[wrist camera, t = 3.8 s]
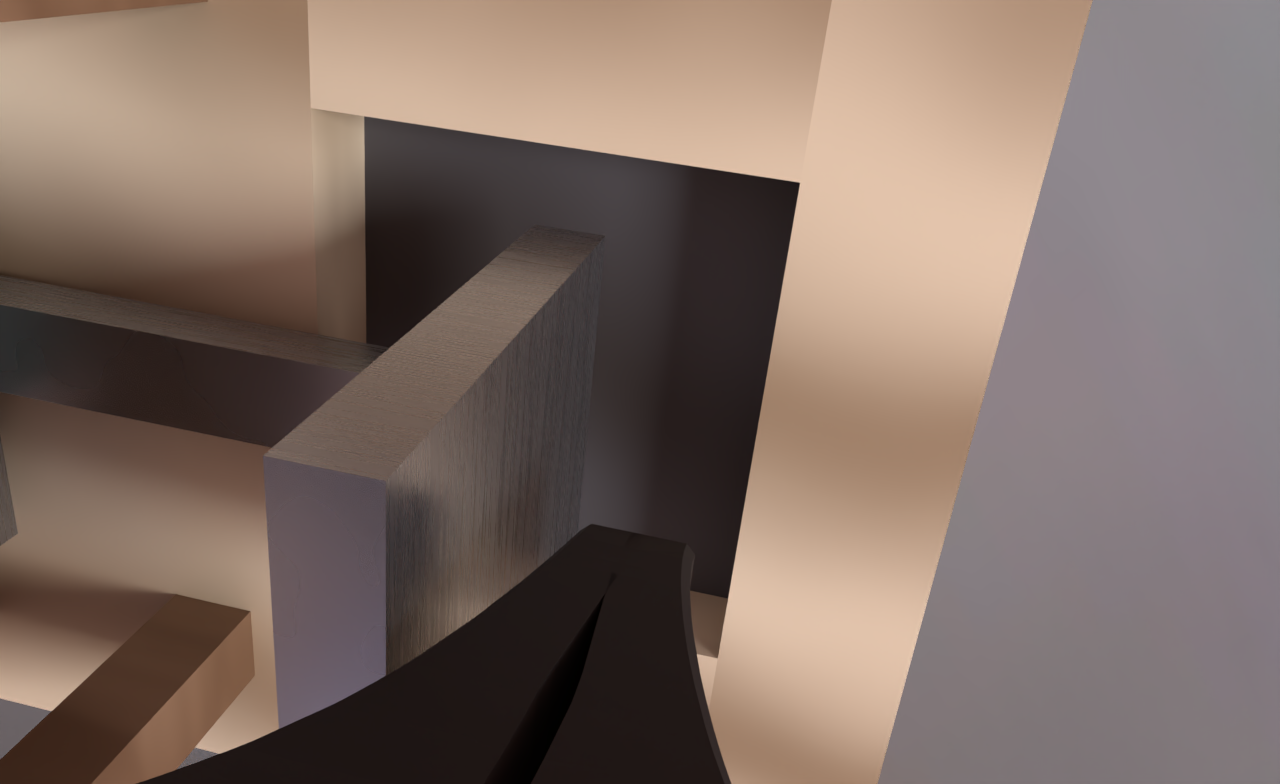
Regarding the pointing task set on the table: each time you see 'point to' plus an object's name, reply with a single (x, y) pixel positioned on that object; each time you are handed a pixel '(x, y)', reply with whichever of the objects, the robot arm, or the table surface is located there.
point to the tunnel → (137, 643)
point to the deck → (628, 308)
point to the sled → (358, 443)
